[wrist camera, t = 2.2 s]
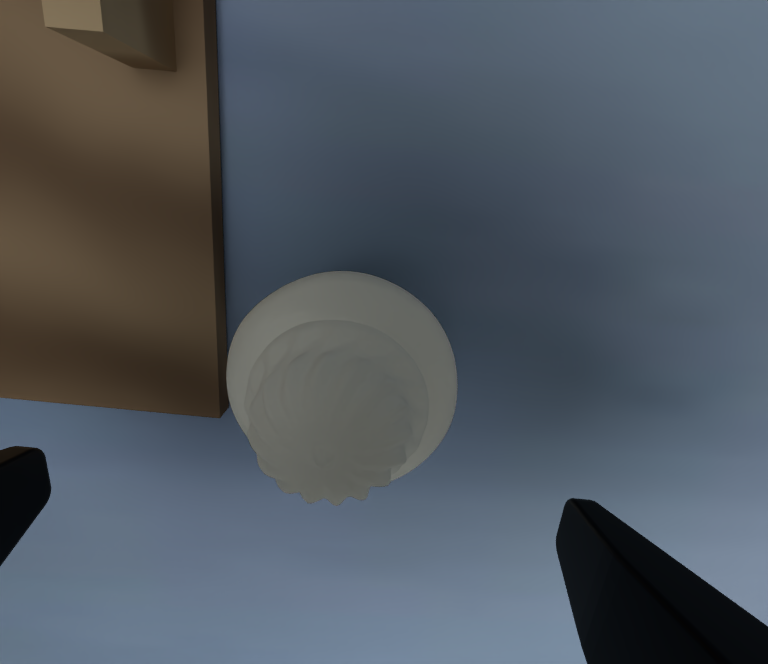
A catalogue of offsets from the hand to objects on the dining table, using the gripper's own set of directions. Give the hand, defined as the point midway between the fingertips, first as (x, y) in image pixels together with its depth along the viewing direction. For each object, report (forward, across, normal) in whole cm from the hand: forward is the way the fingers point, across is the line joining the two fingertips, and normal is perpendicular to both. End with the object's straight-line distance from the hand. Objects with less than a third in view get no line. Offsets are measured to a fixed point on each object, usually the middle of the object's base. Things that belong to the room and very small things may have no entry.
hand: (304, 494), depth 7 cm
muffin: (+8, 0, 0) cm, 8 cm away
